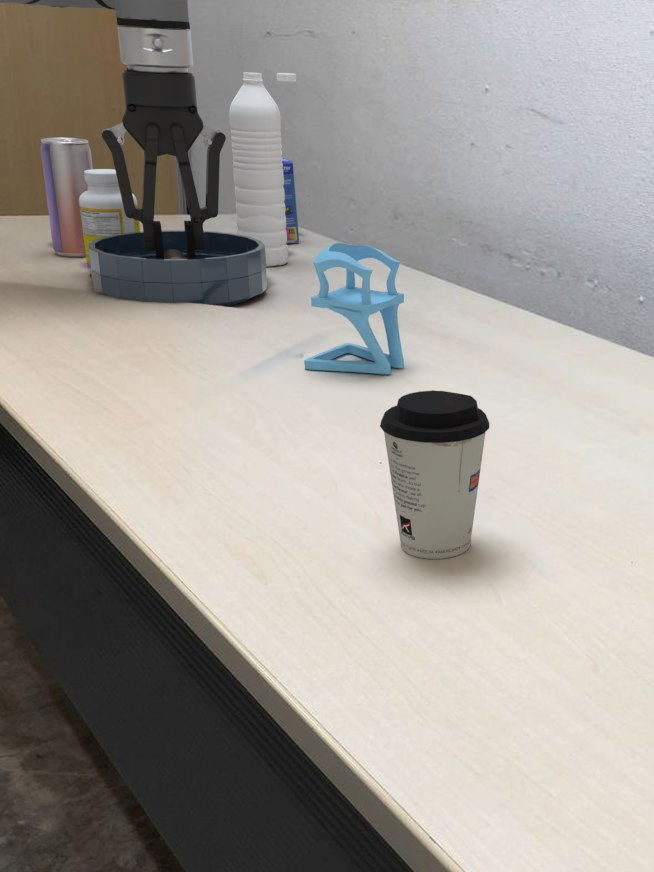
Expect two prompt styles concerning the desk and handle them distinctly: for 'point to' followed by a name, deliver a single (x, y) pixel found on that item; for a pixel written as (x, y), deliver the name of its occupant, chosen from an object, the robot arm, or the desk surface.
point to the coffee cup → (435, 469)
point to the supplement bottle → (103, 208)
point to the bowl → (179, 269)
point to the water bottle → (259, 166)
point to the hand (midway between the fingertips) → (177, 277)
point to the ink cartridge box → (290, 202)
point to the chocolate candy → (174, 254)
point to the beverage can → (66, 191)
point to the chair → (359, 310)
